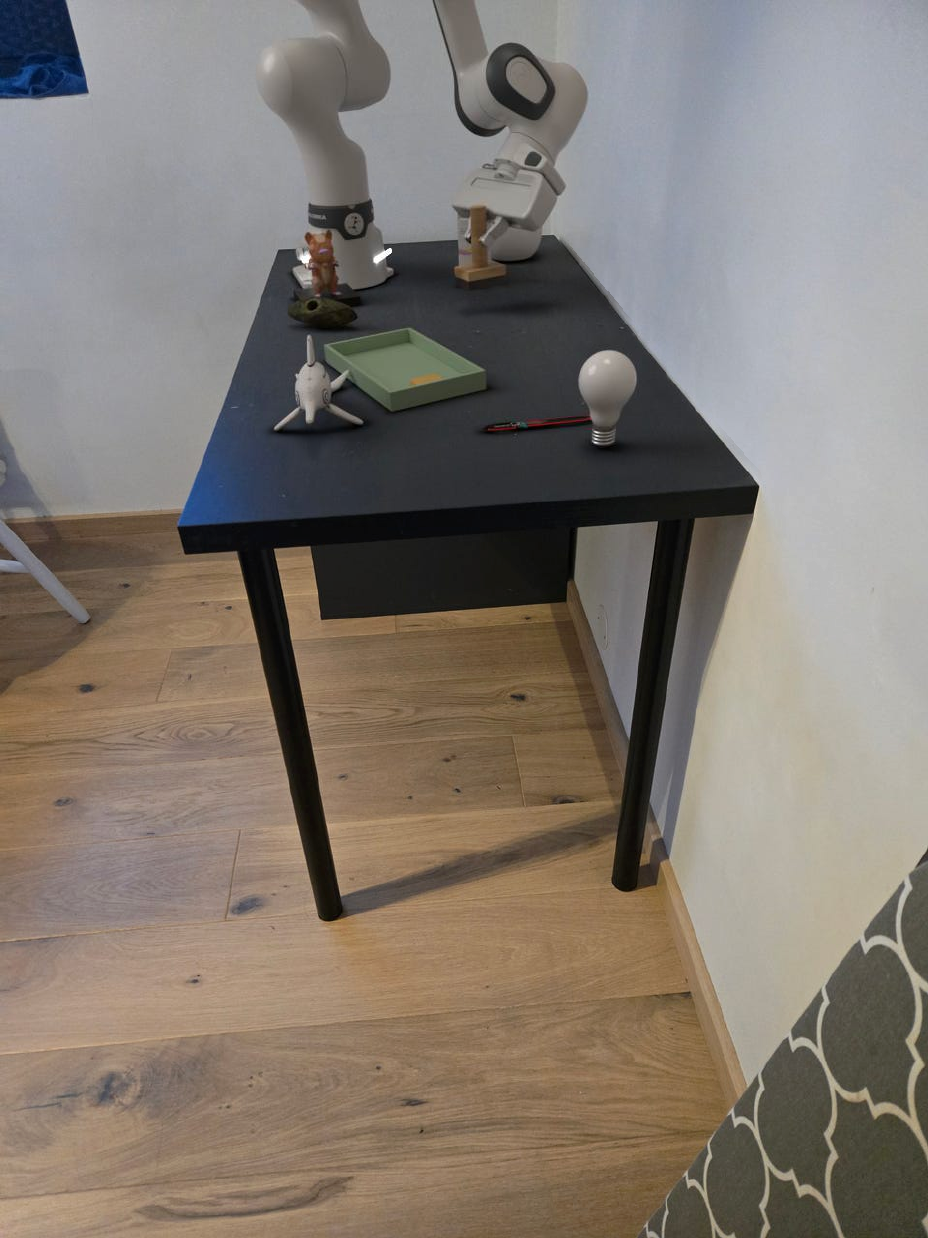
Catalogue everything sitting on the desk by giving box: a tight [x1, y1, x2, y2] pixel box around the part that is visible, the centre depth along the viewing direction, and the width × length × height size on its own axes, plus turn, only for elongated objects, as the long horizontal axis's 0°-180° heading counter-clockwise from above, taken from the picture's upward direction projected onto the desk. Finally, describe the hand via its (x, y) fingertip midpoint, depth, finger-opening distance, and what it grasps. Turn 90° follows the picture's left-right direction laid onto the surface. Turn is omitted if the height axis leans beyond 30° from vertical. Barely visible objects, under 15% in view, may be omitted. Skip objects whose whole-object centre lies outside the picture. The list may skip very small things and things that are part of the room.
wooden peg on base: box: [454, 205, 507, 292], centre depth 135 cm, size 5×7×12 cm, turn 119°
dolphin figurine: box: [273, 334, 364, 432], centre depth 102 cm, size 11×25×11 cm, turn 6°
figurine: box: [292, 230, 361, 308], centre depth 145 cm, size 10×10×12 cm
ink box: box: [456, 213, 492, 266], centre depth 152 cm, size 9×5×15 cm, turn 168°
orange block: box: [410, 374, 443, 386], centre depth 110 cm, size 4×4×1 cm
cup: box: [491, 223, 543, 262], centre depth 167 cm, size 13×13×14 cm
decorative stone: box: [287, 296, 359, 330], centre depth 135 cm, size 11×8×5 cm
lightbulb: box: [577, 349, 638, 449], centre depth 92 cm, size 6×6×11 cm
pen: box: [481, 414, 591, 432], centre depth 100 cm, size 2×14×1 cm, turn 100°
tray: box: [323, 327, 487, 413], centre depth 116 cm, size 23×14×3 cm, turn 29°
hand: (476, 243), depth 134 cm, fingers closed on wooden peg on base, 2 cm apart
